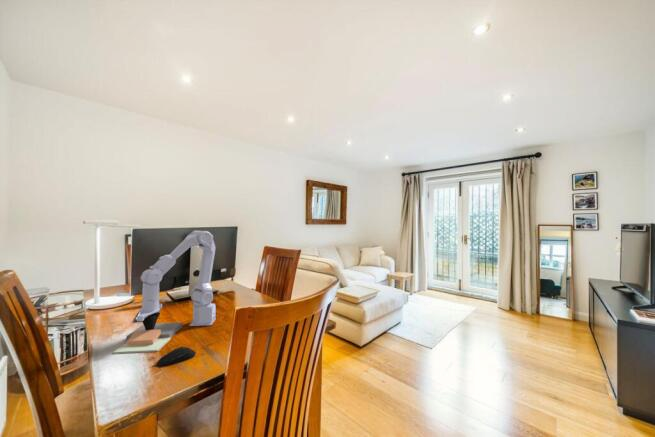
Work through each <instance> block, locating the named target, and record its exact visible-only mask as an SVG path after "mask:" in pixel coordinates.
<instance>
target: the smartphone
mask: <svg viewBox="0 0 655 437" xmlns="http://www.w3.org/2000/svg"><path fill="white" fill-rule="evenodd" d="M158 312H160V310H159V311H158ZM139 314H140V312H139V311H138V313H137V315H136V317H135V318H134V322H135V323H141V322H142V321H137V316H138V315H139ZM142 323H143V322H142Z"/></svg>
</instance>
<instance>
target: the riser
mask: <svg viewBox="0 0 655 437" xmlns="http://www.w3.org/2000/svg"><path fill="white" fill-rule="evenodd" d="M182 328H183V322H160V323H159V322H156V324H155V328H154V330H160V329H161V335H160V336H159V337H158V338H170V337H171V338H172V337H174V335H176V333H178V332H179V331H180V329H182ZM136 330H145V327H144V324H143V323H142V325H140V326H139V327H138V328H136V329H134V330H133V331H131V333H128V334H127V335H126V342H127V340H128V339H129V338H130V337H131V336H132V335H133V334H134V333H135V332H136Z"/></svg>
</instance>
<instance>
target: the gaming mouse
mask: <svg viewBox="0 0 655 437" xmlns="http://www.w3.org/2000/svg"><path fill="white" fill-rule="evenodd" d="M196 353H197V352H196V350H193V349H192V348H190V347H187V346H180V347H177V348H174V349H173V350H170V351H169V352H167V353H166V354H163V356H161V357H160V358H159V359H158V361H156V362H155V364H154V365H152V366H151V368H153V367H154V368H155V367H159V368H163V367H164V368H165V367H169V366H172V365H176V364H178V363H179V364H180V363H182V362H186V361H189V360H191V359H193V358H195V356H196Z"/></svg>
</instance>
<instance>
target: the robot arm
mask: <svg viewBox="0 0 655 437" xmlns="http://www.w3.org/2000/svg"><path fill="white" fill-rule="evenodd" d="M196 246H198V247H199V248H200V249H201V250H202V255H201V261H200V267H199V274H198V279H197V283H196V284H195V285H194V288H193V291H192V292H191V294H190V298H191V300H192V302H193V304H192V305H193V308H192V312H193V314H192V322H191V323H189V327H198V326H199V327H200V326H203V327H204V326H212V324H213V323H214V322H215V321H216V319H217V318H216V312H217V308H216V306H217V305H216V303H212V302H213V299H214V293H213V287H212V286H211V280H212V273H213V267H214V260H215V254H216V244H215V241H214V235H213V234H212V233H211V232H210V231H207V230H192V231H191V232H190V233H189V234H188V235H186V236H185V238H184V239H183V240H182V241H181V242H180V243H179V244H178V245H177V246H176V247H175V248H174V249H173V250H172V251H171V252H170V254H164V255H163V256H159V258H158V260H157V261H156V262H155V263H154V264H153V265H150V266H149V267H148V268H149V269H146V270H144V271H143V272H142V273H141V276H140V277H139V278H140V281H141V282H142V289H141V290H142V292H141V294H142V297H141V298H142V299H141V300H142V301H141V309H139V310H138V313H139V312H140V314H139V315H138V314H137V315H138V316H137V315H136V317H137V321H142V325H143V324H144V327H145V330H154V328H155V324H156V323H157V321H158V319H159V317H160V315H161V312H160V310H161V309H162V308H163V303H160V282H161V281H162V280H163V277H164V275H165V274H167V272H169V271H170V270H171V268H172V267H173V268H174V265H176V263H177V259H178V258H179V257H180V256H182V255H183V254H184V253H186V252H187V251H188V250H189V248H191V247H196ZM158 311H159V312H158Z"/></svg>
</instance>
